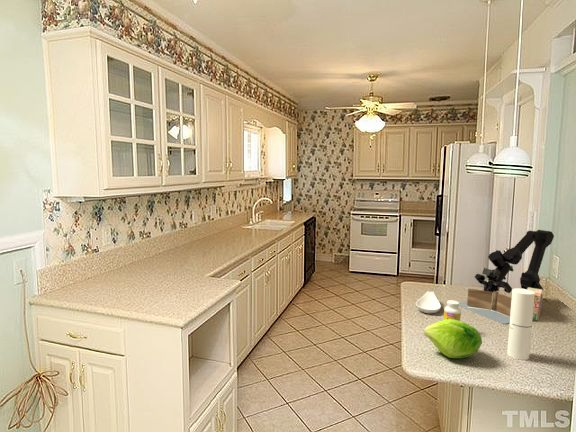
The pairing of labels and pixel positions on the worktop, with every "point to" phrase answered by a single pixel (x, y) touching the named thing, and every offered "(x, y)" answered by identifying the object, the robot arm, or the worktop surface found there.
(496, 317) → the card
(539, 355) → the worktop surface
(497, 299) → the fence post and fixed panel
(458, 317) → the supplement bottle
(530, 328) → the cylindrical container
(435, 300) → the spoon rest
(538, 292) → the stack of blocks
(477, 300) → the wooden board
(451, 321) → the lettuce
